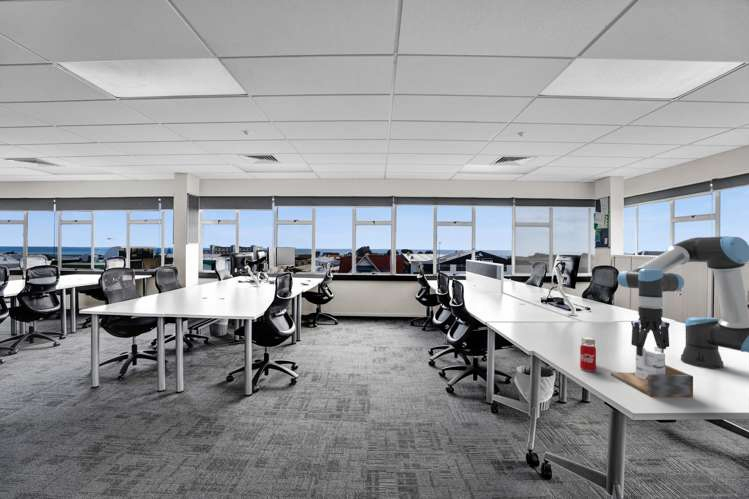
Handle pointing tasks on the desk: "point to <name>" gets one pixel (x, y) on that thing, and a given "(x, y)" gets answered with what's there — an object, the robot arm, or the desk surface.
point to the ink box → (651, 364)
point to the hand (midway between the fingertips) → (650, 363)
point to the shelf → (660, 383)
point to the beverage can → (588, 357)
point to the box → (588, 340)
